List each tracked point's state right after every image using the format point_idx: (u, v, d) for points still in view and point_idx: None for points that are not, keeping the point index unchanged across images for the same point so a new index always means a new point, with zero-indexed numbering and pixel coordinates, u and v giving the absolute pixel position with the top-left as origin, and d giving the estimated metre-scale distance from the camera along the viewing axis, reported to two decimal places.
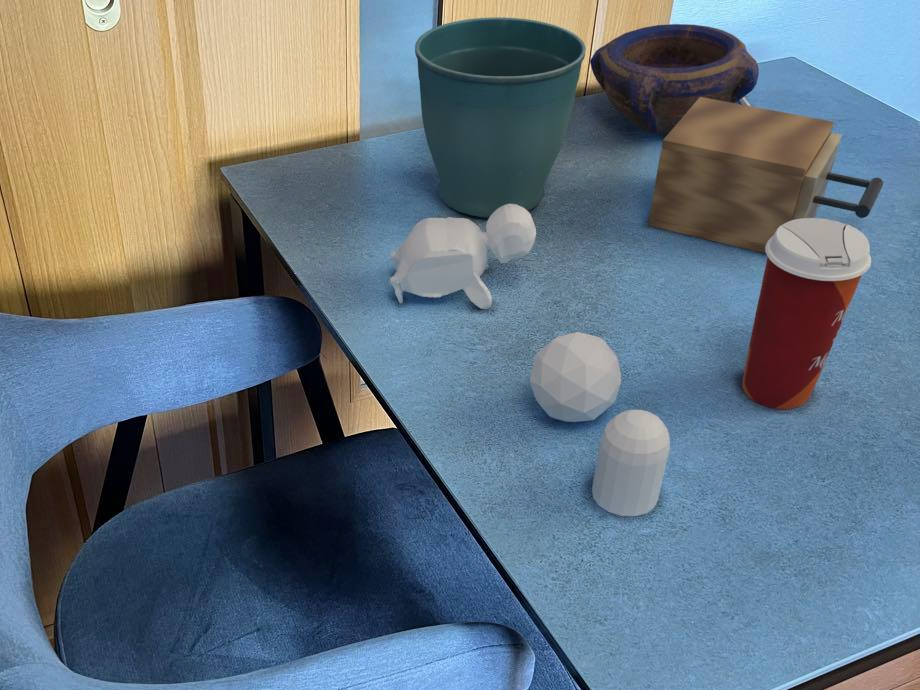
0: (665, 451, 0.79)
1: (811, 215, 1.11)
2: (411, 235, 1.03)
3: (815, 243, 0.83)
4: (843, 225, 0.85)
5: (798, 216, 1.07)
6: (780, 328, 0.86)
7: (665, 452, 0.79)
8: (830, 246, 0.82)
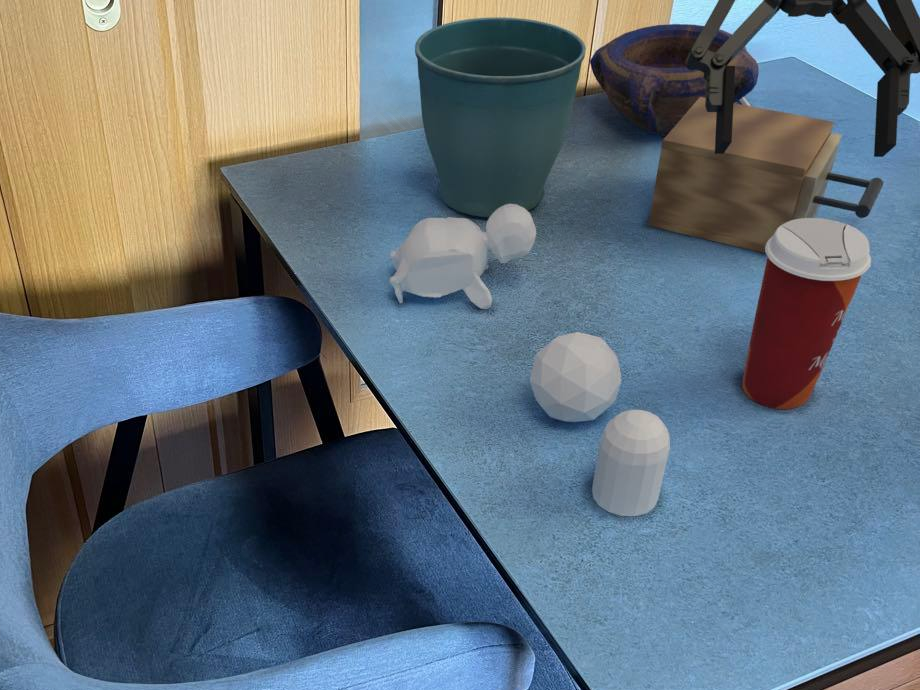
0: (665, 451, 0.79)
1: (811, 215, 1.11)
2: (411, 235, 1.03)
3: (815, 243, 0.83)
4: (843, 225, 0.85)
5: (798, 216, 1.07)
6: (780, 328, 0.86)
7: (665, 452, 0.79)
8: (830, 246, 0.82)
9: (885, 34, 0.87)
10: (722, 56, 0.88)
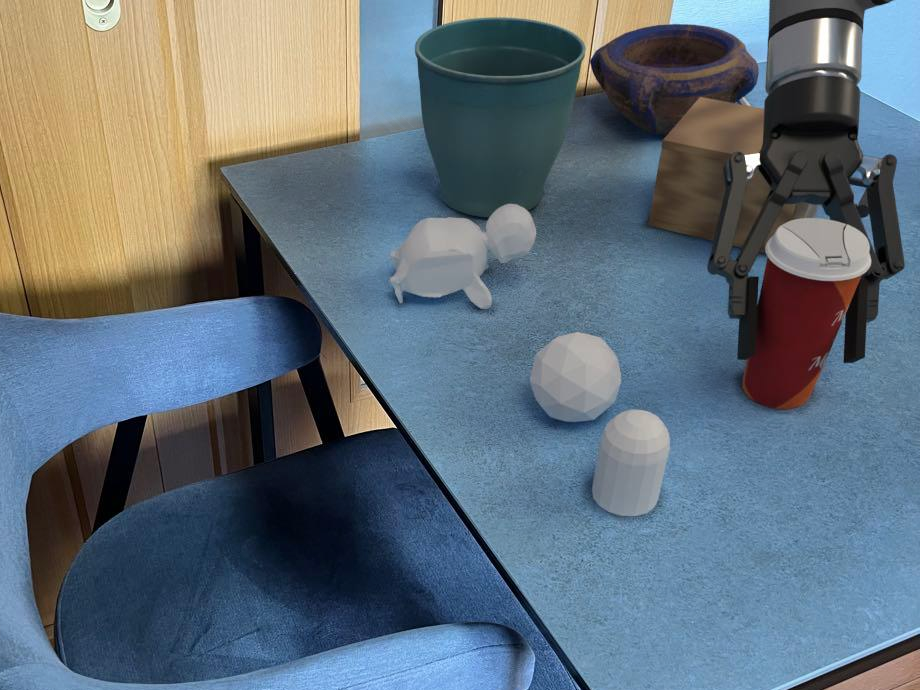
0: (665, 451, 0.79)
1: (811, 215, 1.11)
2: (411, 235, 1.03)
3: (815, 243, 0.83)
4: (843, 225, 0.85)
5: (798, 216, 1.07)
6: (780, 328, 0.86)
7: (665, 452, 0.79)
8: (830, 246, 0.82)
9: None
10: (745, 266, 0.86)
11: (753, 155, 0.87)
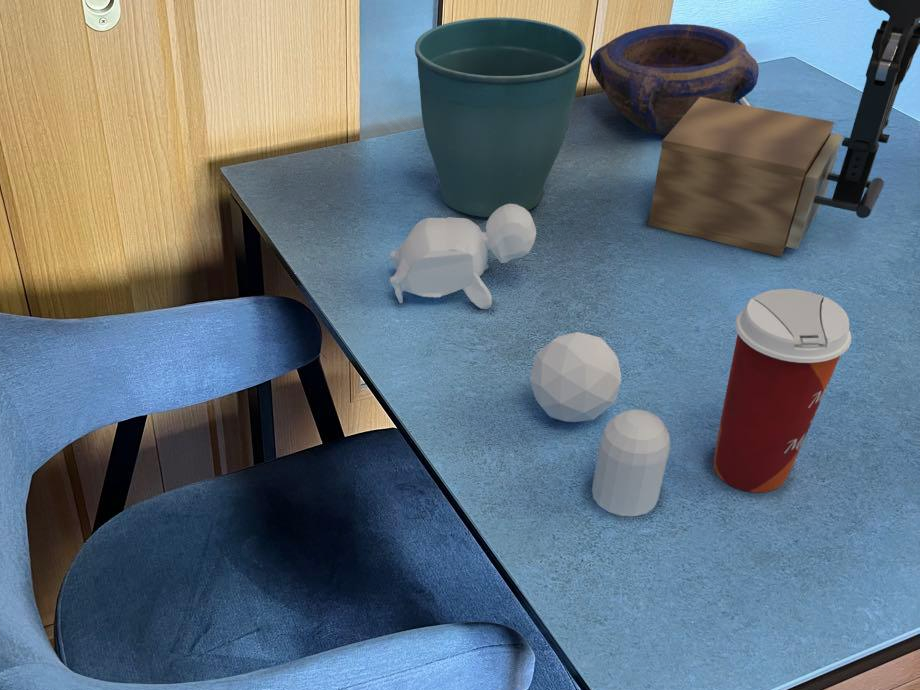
0: (665, 451, 0.79)
1: (812, 215, 1.11)
2: (411, 235, 1.03)
3: (789, 319, 0.75)
4: (821, 298, 0.77)
5: (798, 217, 1.07)
6: (752, 409, 0.78)
7: (665, 452, 0.79)
8: (806, 323, 0.74)
9: (890, 107, 1.03)
10: (877, 142, 1.03)
11: (895, 51, 0.94)
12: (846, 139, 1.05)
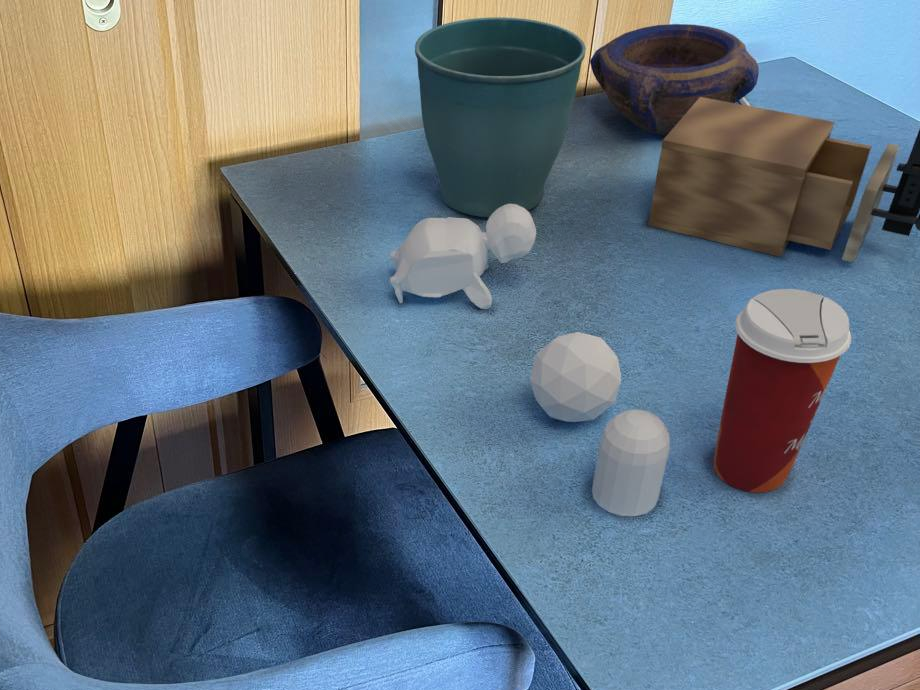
0: (665, 451, 0.79)
1: (868, 227, 1.09)
2: (411, 235, 1.03)
3: (789, 319, 0.75)
4: (821, 298, 0.77)
5: (856, 229, 1.05)
6: (752, 409, 0.78)
7: (665, 452, 0.79)
8: (806, 323, 0.74)
9: None
10: None
11: None
12: (901, 164, 1.02)
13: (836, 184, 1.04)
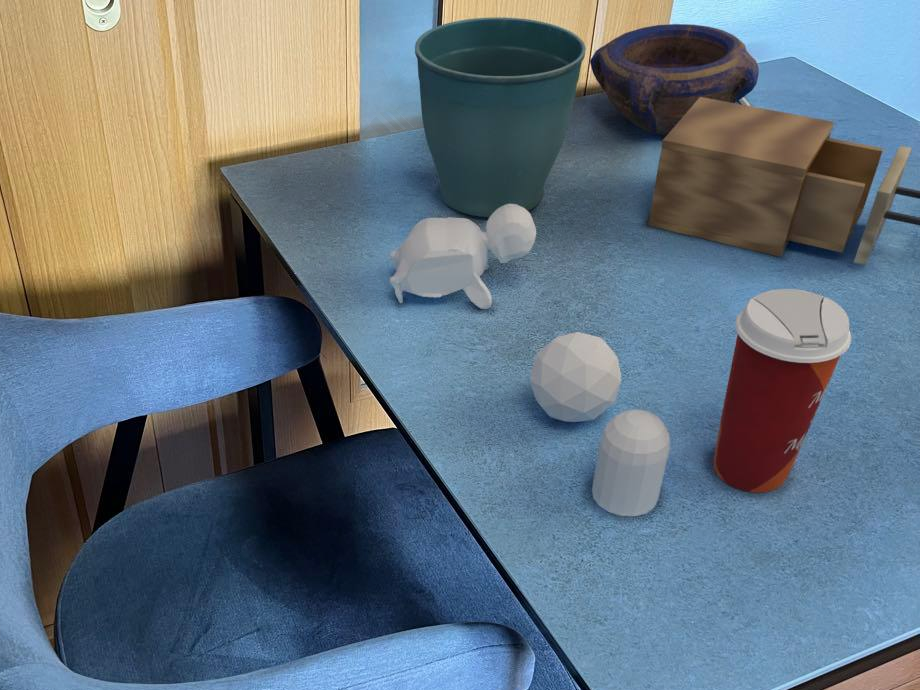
0: (665, 451, 0.79)
1: (880, 230, 1.09)
2: (411, 235, 1.03)
3: (789, 319, 0.75)
4: (821, 298, 0.77)
5: (869, 232, 1.04)
6: (752, 409, 0.78)
7: (665, 452, 0.79)
8: (806, 323, 0.74)
9: None
10: None
11: None
12: None
13: (849, 186, 1.03)
